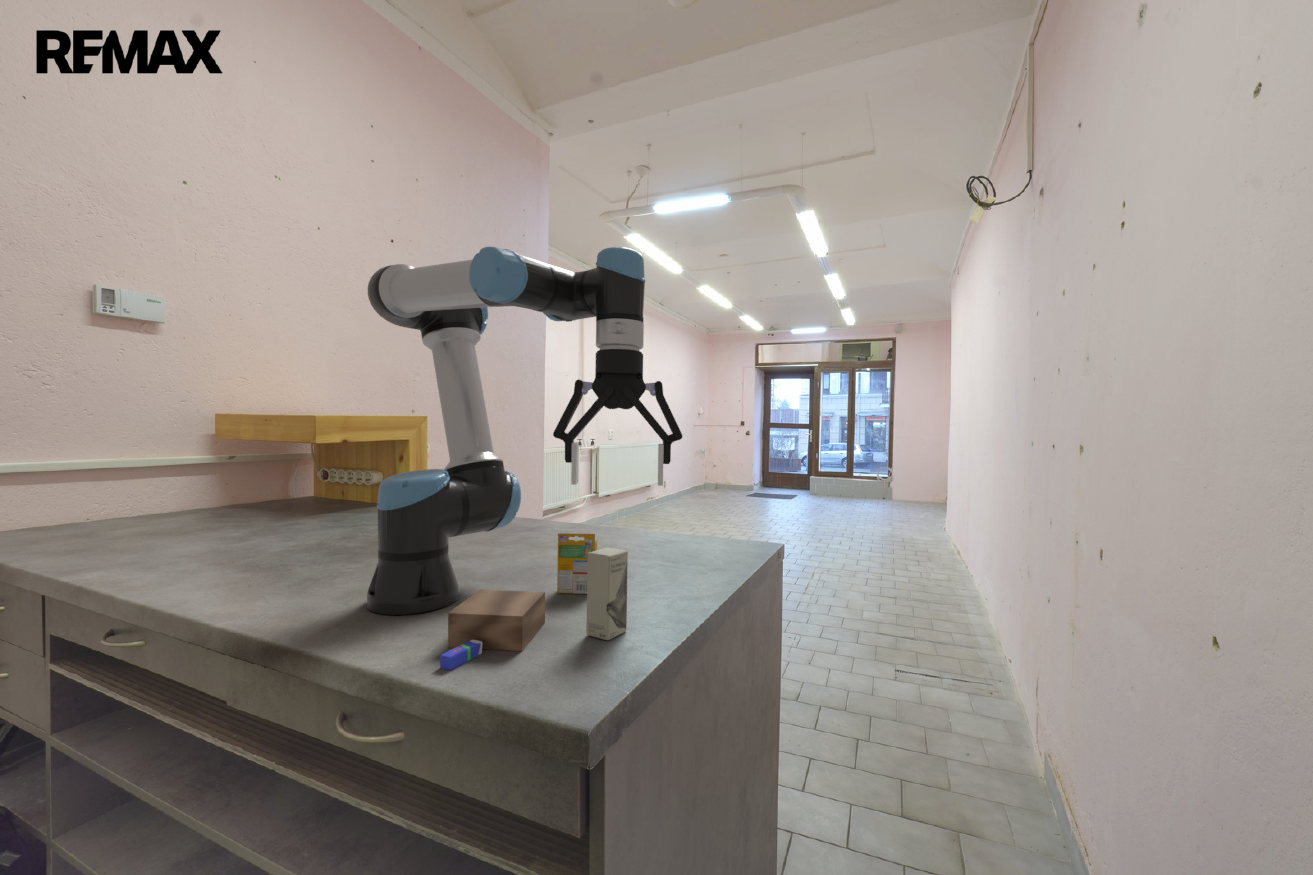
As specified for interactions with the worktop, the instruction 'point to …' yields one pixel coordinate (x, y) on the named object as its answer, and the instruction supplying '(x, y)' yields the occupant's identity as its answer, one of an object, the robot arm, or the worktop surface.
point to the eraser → (460, 654)
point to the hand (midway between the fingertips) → (617, 484)
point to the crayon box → (574, 562)
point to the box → (607, 593)
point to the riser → (497, 619)
